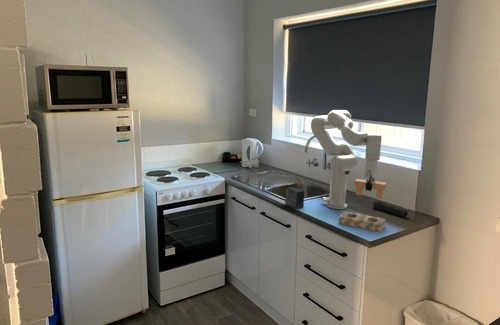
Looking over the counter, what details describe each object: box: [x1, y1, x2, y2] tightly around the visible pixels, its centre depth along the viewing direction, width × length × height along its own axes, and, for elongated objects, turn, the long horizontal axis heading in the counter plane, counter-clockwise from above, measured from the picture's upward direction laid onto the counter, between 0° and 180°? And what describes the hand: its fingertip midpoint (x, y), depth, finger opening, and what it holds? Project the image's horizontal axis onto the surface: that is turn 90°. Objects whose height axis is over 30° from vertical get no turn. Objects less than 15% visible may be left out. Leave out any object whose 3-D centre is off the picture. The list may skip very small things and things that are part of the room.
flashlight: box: [372, 200, 409, 218], centre depth 227 cm, size 5×21×5 cm, turn 37°
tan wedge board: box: [354, 178, 387, 200], centre depth 211 cm, size 16×5×8 cm, turn 62°
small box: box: [284, 186, 305, 209], centre depth 233 cm, size 11×6×10 cm, turn 35°
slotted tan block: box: [338, 211, 386, 233], centre depth 205 cm, size 22×10×4 cm, turn 60°
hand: (369, 188), depth 211 cm, fingers closed on tan wedge board, 5 cm apart
